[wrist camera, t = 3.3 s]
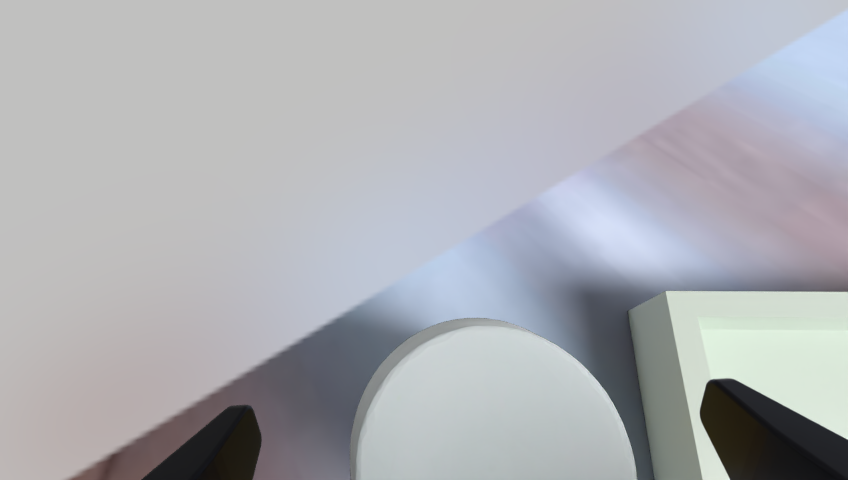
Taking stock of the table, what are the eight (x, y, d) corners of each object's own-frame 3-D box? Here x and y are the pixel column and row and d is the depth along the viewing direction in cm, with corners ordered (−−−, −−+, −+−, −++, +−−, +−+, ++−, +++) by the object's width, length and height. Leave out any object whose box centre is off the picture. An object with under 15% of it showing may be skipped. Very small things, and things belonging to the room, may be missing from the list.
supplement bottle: (497, 557, 13) (596, 866, 4) (360, 458, 15) (221, 542, 6) (569, 403, 15) (748, 400, 6) (439, 325, 16) (427, 227, 7)
